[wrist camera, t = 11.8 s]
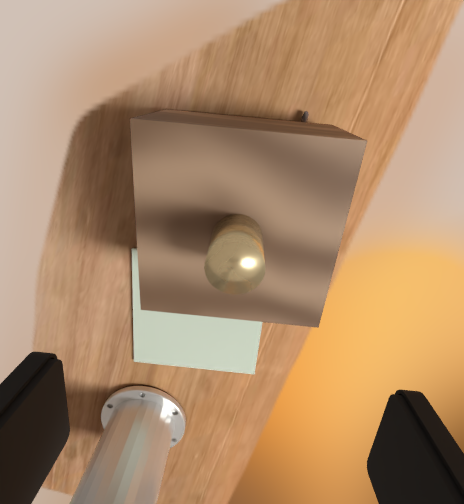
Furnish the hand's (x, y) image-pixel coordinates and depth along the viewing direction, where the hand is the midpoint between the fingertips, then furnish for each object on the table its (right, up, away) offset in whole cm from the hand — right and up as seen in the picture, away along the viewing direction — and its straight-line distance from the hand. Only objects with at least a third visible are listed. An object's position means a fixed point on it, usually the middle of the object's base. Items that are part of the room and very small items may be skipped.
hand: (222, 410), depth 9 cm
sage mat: (-4, -4, +33) cm, 33 cm away
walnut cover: (+1, +10, +26) cm, 28 cm away
